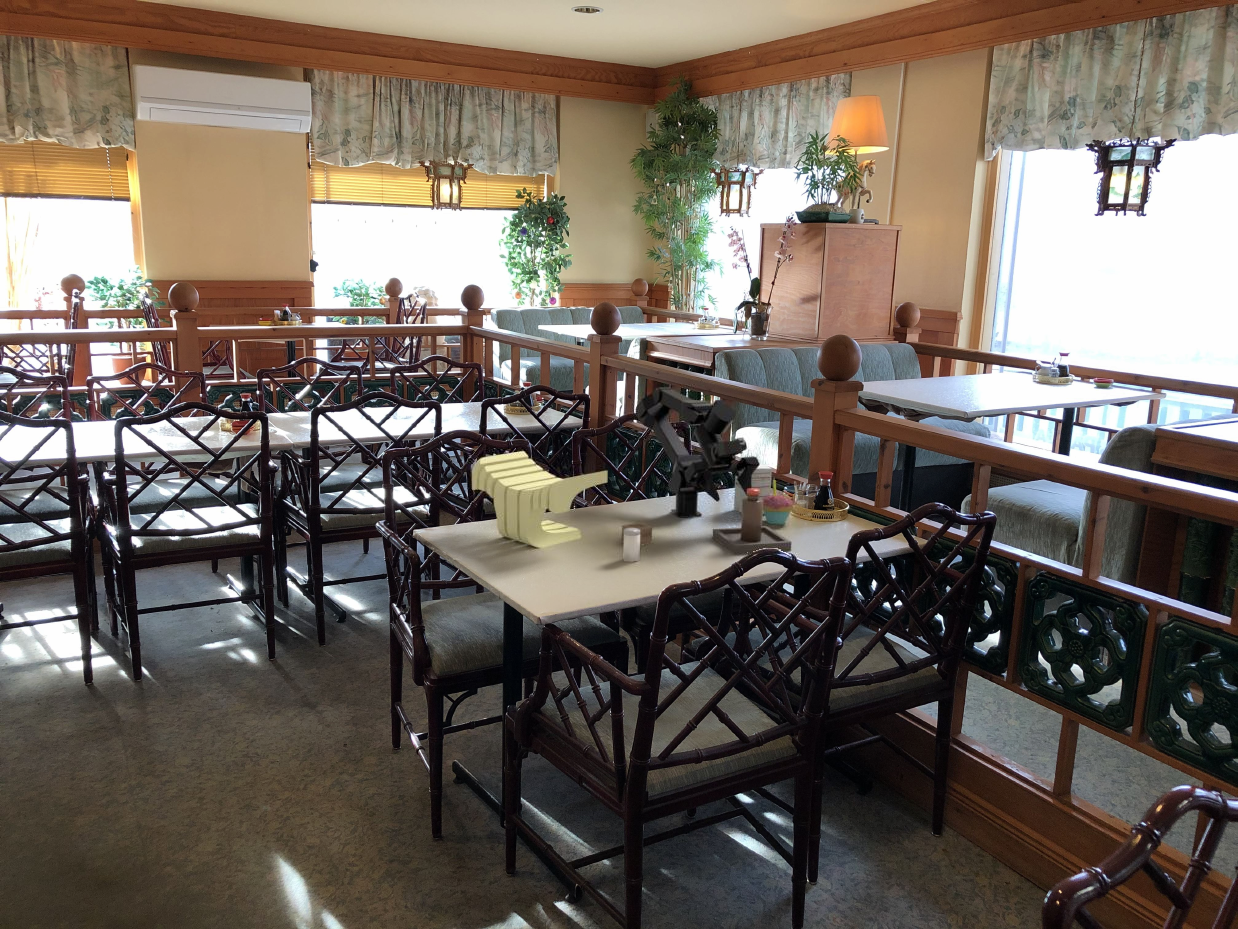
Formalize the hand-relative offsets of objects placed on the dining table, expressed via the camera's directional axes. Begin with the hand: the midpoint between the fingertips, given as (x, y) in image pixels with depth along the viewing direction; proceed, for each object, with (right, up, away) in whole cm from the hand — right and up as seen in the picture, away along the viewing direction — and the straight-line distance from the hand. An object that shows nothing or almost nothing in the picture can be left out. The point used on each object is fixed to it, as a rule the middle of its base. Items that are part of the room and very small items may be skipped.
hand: (734, 498), depth 233 cm
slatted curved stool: (-47, -9, -3) cm, 48 cm away
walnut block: (-24, -10, -5) cm, 26 cm away
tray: (+3, -10, -5) cm, 12 cm away
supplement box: (+7, -5, +25) cm, 27 cm away
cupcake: (+12, -7, +15) cm, 21 cm away
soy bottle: (+3, -9, -5) cm, 11 cm away
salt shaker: (-25, -13, -18) cm, 34 cm away
